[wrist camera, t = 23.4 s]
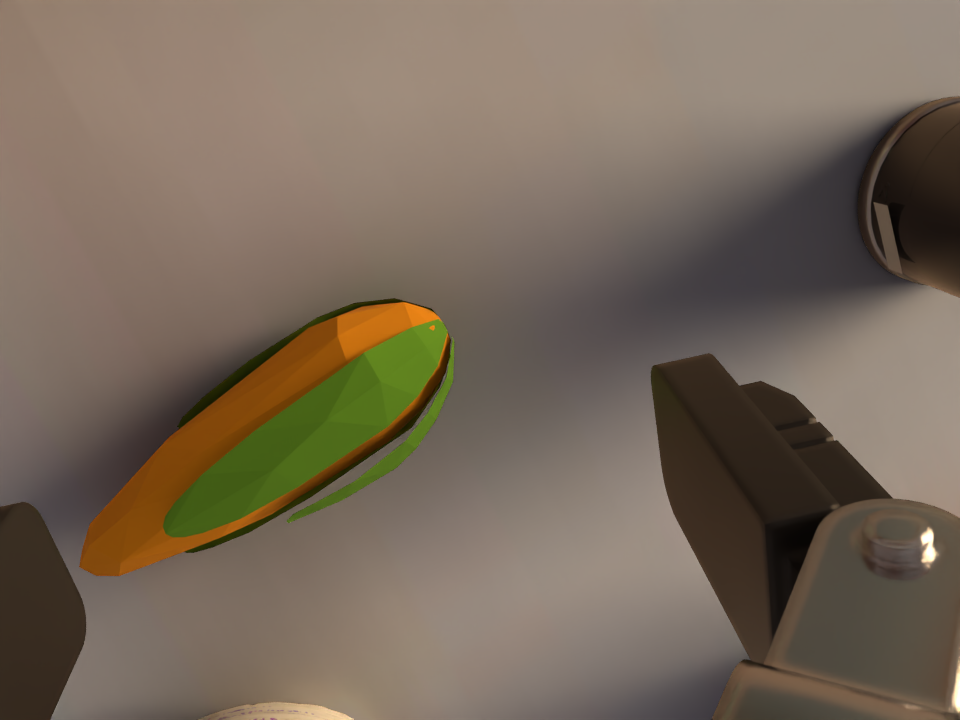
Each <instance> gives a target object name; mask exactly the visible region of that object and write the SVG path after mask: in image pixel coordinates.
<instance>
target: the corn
mask: <svg viewBox="0 0 960 720" xmlns="http://www.w3.org/2000/svg"><path fill="white" fill-rule="evenodd" d="M451 337H452V336H451ZM452 339H453V338H452ZM450 343H451V339H450V337H449V334H448V331H447V329H446V327H445V325H444V323H443V322H442V321H441V320H440V318H439V317H438V315H437V314H436V313H435V312H434V311H433V310H432V309H431V308H427V307H424V306H420V305H416V304H413V303H409V302H406V301H402V300H398V299H395V298H393V299H385V300H377V301H368V302H360V303H353V304H351V305H348V306H346V307H343V308H341V309H338V310H335V311H333V312H330V313H328V314H325V315H323V316H320V317H317V318H316V319H314V320H313V321H311V322H309V323H308V324H306V325H305V326H303V327H302V328H300V329H298V330H297V331H295V332H294V333H292V334H290V335H289V336H287V337H286V338H284V339H283V340H281V341H279V342H278V343H276V344H275V345H273V346H271V347H270V348H268V349H267V350H265V351H264V352H262V353H260V354H259V355H257V356H256V357H254V358H252V359H251V360H249V361H248V362H247V363H246V364H244V365H243V366H242V367H240V368H239V369H238V370H237V371H235V372H234V373H233V374H232V375H230V376H229V377H228V378H227V379H225V380H224V381H223V382H222V383H220V384H219V385H218V386H217V387H215V388H214V389H213V390H212V391H210V392H209V393H208V394H207V395H205V396H204V397H203V398H202V399H201V400H200V401H199V402H198V403H197V404H196V405H195V406H194V407H193V408H192V409H190V410H189V411H188V412H187V413H186V414H185V415H184V416H183V417H182V419H181V421H180V423H179V424H178V426H177V427H178V428H179V430H178V431H176V432H175V433H174V434H172V435H171V436H170V437H169V438H168V439H167V440H166V441H165V442H164V443H163V444H162V445H161V446H160V448H159V449H158V450H157V451H156V452H155V453H154V454H153V455H152V456H151V457H150V459H149V460H148V461H147V462H146V463H145V464H144V465H143V466H142V467H141V468H140V470H139V471H138V472H137V473H136V474H135V475H134V476H133V477H132V478H131V479H130V481H129V482H128V483H127V484H126V485H125V486H124V487H123V488H122V489H121V490H120V491H119V493H118V494H117V495H116V496H115V497H114V498H113V499H112V500H111V501H110V502H109V504H108V505H107V506H106V507H105V508H104V509H103V510H102V511H101V512H100V513H99V515H98V516H97V517H96V518H95V519H94V520H93V521H92V522H91V523H90V525H89V528H88V532H87V535H86V539H85V542H84V545H83V549H82V554H81V560H80V566H79V567H80V568H82V569H84V570H86V571H88V572H90V573H92V574H94V575H96V576H121V575H123V574H126V573H129V572H131V571H134V570H136V569H139V568H142V567H144V566H147V565H150V564H152V563H155V562H158V561H160V560H163V559H166V558H168V557H171V556H174V555H176V554H179V553H182V552H184V551H185V552H186V553H194V552H198V551H201V550H205V549H208V548H212V547H214V546H217V545H219V544H222V543H224V542H227V541H229V540H232V539H234V538H237V537H239V536H241V535H244V534H246V533H249V532H251V531H253V530H254V529H256V528H258V527H259V526H261V525H263V524H265V523H266V522H268V521H270V520H272V519H273V518H275V517H277V516H279V515H280V514H282V513H284V512H286V511H287V510H289V509H291V508H293V507H294V506H296V505H298V504H300V503H301V502H303V501H305V500H306V499H308V498H310V497H312V496H313V495H314V494H316V493H317V492H319V491H320V490H322V489H323V488H325V487H326V486H328V485H329V484H330V483H332V482H333V481H335V480H336V479H338V478H339V477H341V476H342V475H344V474H345V473H346V472H348V471H349V470H351V469H352V468H354V467H355V466H357V465H358V464H360V463H361V462H362V461H364V460H365V459H367V458H368V457H370V456H371V455H373V454H374V453H376V452H377V451H378V450H380V449H381V448H383V447H384V446H386V445H387V444H389V443H390V442H392V441H393V440H394V439H396V438H397V437H399V436H400V435H402V434H403V433H405V432H406V431H408V430H409V429H410V428H412V426H413V425H414V423H415V422H416V421H417V419H418V418H419V416H420V415H421V413H422V412H423V410H424V409H425V408H426V406H427V405H428V403H429V402H430V400H431V399H432V397H433V396H434V394H435V393H436V392H437V390H438V389H439V387H440V384H441V382H442V379H443V376H444V374H445V373H446V368H447V364H448V361H449V366H448V372H447V377H446V379H445V381H444V383H443V385H442V387H441V389H440V391H439V393H438V395H437V397H436V398H435V400H434V402H433V404H432V406H431V408H430V410H429V412H428V413H427V415H426V416H425V417H424V418H423V420H422V421H421V422H420V423H419V425H418V426H417V427H416V428H415V430H414V431H413V432H412V433H411V435H410V436H409V437H408V438H407V440H406V441H405V442H404V443H402V444H401V445H400V446H399V447H397V448H396V449H395V450H394V451H392V452H391V453H390V454H389V455H387V456H386V457H385V458H384V459H382V460H381V461H380V462H379V463H377V464H376V465H375V466H373V467H372V468H371V469H370V470H368V471H367V472H366V473H365V474H363V475H362V476H361V477H360V478H358V479H357V480H356V481H354V482H353V483H351V484H349V485H347V486H345V487H343V488H342V489H340V490H338V491H336V492H334V493H332V494H330V495H329V496H327V497H325V498H323V499H321V500H319V501H318V502H316V503H314V504H312V505H310V506H308V507H306V508H304V509H302V510H300V511H298V512H296V513H295V514H293V515H292V516H291V517H290V518H289V519H288V520H287V522H288V523H290V522H292V521H295V520H297V519H299V518H302V517H304V516H306V515H309V514H311V513H313V512H316V511H318V510H320V509H323V508H325V507H327V506H330V505H332V504H334V503H337V502H339V501H341V500H343V499H345V498H347V497H348V496H350V495H352V494H353V493H355V492H357V491H358V490H360V489H362V488H364V487H365V486H367V485H369V484H370V483H372V482H374V481H375V480H377V479H379V478H380V477H382V476H384V475H385V474H387V473H389V472H390V471H392V470H394V469H396V468H397V467H398V466H399V465H400V464H401V463H402V462H403V461H404V460H405V459H406V458H407V457H408V456H409V455H410V454H411V453H412V452H413V451H414V450H415V449H416V448H417V447H418V445H419V444H420V442H421V441H422V440H423V438H424V437H425V435H426V434H427V432H428V431H429V429H430V428H431V427H432V425H433V424H434V422H435V421H436V419H437V417H438V415H439V412H440V410H441V408H442V405H443V403H444V401H445V399H446V396H447V394H448V392H449V389H450V387H451V385H452V383H453V368H454V340H453V342H452V348H451V354H450ZM449 359H450V360H449Z"/></svg>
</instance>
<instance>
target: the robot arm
mask: <svg viewBox="0 0 960 720" xmlns="http://www.w3.org/2000/svg"><path fill="white" fill-rule="evenodd" d="M858 220H859V226H860V231H861V234H862V237H863V240H864V242H865V245H866V246H867V248H868V250H869V252H870V253H871V255H872V256H873V257H874V259H875V260H876V261H877V262H878V263H879V264H880V265H881V266H882V267H883V268H885V269H886V270H887V271H889V272H890V273H892V274H894V275H896V276H898V277H901V278H904V279H906V280H909V281H912V282H914V283H918V284H922V285H928V286H931V287H934V288H936V289H939V290H942V291H944V292H946V293H949V294H951V295H954V296H956V297H959V298H960V97H948V98H943V99H939V100H935V101H932V102H930V103H927V104H925V105H923V106H921V107H919V108H917V109H915V110H914V111H912V112H911V113H909V114H908V115H906V116H905V117H904V118H902V119H901V120H900V121H899V122H898V123H897V124H895V125H894V126H893V127H892V128H891V129H890V131H889V132H888V133H887V134H886V135H885V136H884V138H883V139H882V140H881V141H880V143H879V144H878V146H877V147H876V149H875V151H874V152H873V154H872V156H871V158H870V160H869V162H868V164H867V166H866V169H865V172H864V175H863V178H862V181H861V185H860V190H859V197H858ZM651 384H652V393H653V401H654V409H655V417H656V425H657V433H658V441H659V450H660V458H661V466H662V473H663V478H664V483H665V487H666V491H667V495H668V498H669V501H670V505H671V507H672V510H673V513H674V515H675V517H676V519H677V521H678V523H679V525H680V527H681V529H682V531H683V532H684V534H685V536H686V538H687V540H688V542H689V544H690V546H691V548H692V550H693V551H694V553H695V555H696V557H697V559H698V561H699V563H700V565H701V567H702V568H703V570H704V572H705V574H706V576H707V578H708V580H709V582H710V584H711V586H712V587H713V589H714V591H715V593H716V595H717V597H718V599H719V601H720V603H721V604H722V606H723V608H724V610H725V612H726V614H727V616H728V618H729V620H730V622H731V623H732V625H733V627H734V629H735V631H736V633H737V635H738V637H739V639H740V641H741V642H742V644H743V646H744V648H745V650H746V652H747V654H748V656H749V658H750V659H751V660H742V661H741V662H739V664H738V665H737V666H736V667H735V669H734V671H733V672H732V674H731V676H730V678H729V680H728V682H727V685H726V687H725V689H724V692H723V694H722V696H721V699H720V701H719V703H718V706H717V708H716V710H715V713H714V715H713V717H712V720H960V518H958V517H957V516H955V515H953V514H951V513H949V512H947V511H945V510H942V509H940V508H938V507H935V506H931V505H928V504H925V503H921V502H915V501H910V500H902V499H893V498H892V497H891V496H890V495H889V494H888V493H887V492H886V491H885V490H884V489H883V488H882V487H881V485H880V484H879V483H878V482H877V481H876V480H875V479H874V478H873V477H872V476H871V475H870V474H869V473H868V472H867V471H866V470H865V469H864V468H863V467H862V466H861V465H860V464H859V463H858V461H857V460H856V459H855V458H854V457H853V456H852V455H851V454H850V453H849V452H848V451H847V450H846V449H845V448H844V447H843V446H842V445H841V444H840V443H839V442H838V441H837V440H836V441H834V439H833V435H832V434H831V433H830V432H829V431H828V430H827V429H826V428H825V427H824V426H823V425H822V424H821V423H820V422H816V418H815V417H814V416H813V414H812V413H811V412H810V411H809V410H808V409H807V408H806V407H805V406H804V405H803V404H802V403H801V402H800V401H799V400H798V399H797V398H796V397H795V396H794V395H791V394H789V393H787V392H785V391H782V390H780V389H778V388H775V387H773V386H771V385H769V384H766V383H764V382H762V381H759V382H754V383H750V384H745V385H741V386H739V385H738V384H737V383H736V381H735V380H734V379H733V378H732V377H731V376H730V374H729V373H728V372H727V371H726V370H725V368H724V367H723V366H722V365H721V364H720V363H719V361H718V360H717V359H716V358H715V357H714V356H713V355H712V354H710V353H708V354H704V355H699V356H694V357H690V358H685V359H681V360H676V361H672V362H667V363H662V364H658V365H654V366H653V367H652V370H651ZM85 635H86V615H85V609H84V604H83V601H82V598H81V596H80V594H79V592H78V589H77V587H76V585H75V583H74V581H73V579H72V577H71V575H70V573H69V571H68V569H67V567H66V565H65V563H64V561H63V559H62V557H61V555H60V553H59V551H58V549H57V547H56V544H55V542H54V540H53V538H52V536H51V534H50V532H49V530H48V528H47V526H46V524H45V522H44V520H43V518H42V516H41V515H40V513H39V512H38V510H37V509H36V508H35V507H34V506H32V505H31V504H29V503H26V502H20V503H15V504H11V505H6V506H2V507H0V720H50V719H51V716H52V714H53V712H54V710H55V708H56V705H57V703H58V701H59V699H60V696H61V694H62V692H63V690H64V688H65V685H66V683H67V681H68V679H69V676H70V674H71V672H72V670H73V667H74V665H75V663H76V661H77V659H78V656H79V654H80V652H81V650H82V647H83V644H84V641H85Z"/></svg>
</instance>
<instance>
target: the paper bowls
mask: <svg viewBox="0 0 960 720" xmlns="http://www.w3.org/2000/svg"><path fill="white" fill-rule="evenodd" d="M197 720H354V719H352V718H350V717H348V716H347V715H345V714H342V713H339V712H336V711H333V710H329V709H327V708H325V707H321V706H316V705H308V704H294V703H282V702H269V703H257V704H256V705H252V706H251V705H249V704H247V705H242V706H237V707H233V708H230V709H227V710H222V711H219V712H216V713H213V714H210V715H207V716H205V717H203V718H200V719H197Z"/></svg>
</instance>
